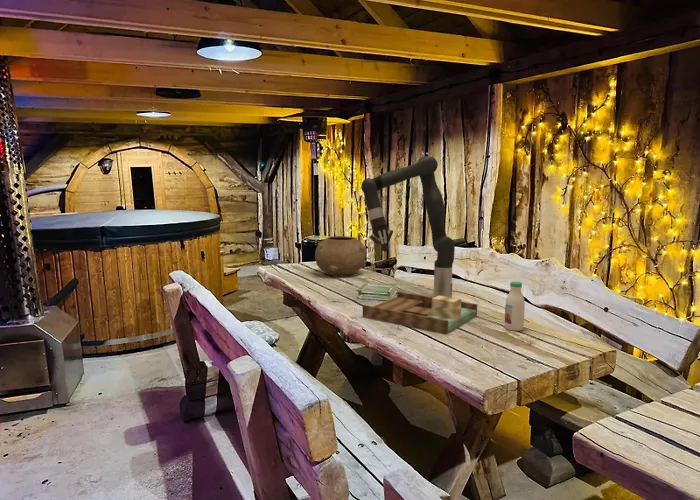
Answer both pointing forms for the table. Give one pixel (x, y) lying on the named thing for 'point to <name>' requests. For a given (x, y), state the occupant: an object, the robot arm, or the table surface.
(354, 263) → the ceramic pot
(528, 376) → the table surface
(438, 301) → the maple block
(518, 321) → the milk bottle
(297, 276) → the table surface
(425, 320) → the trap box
